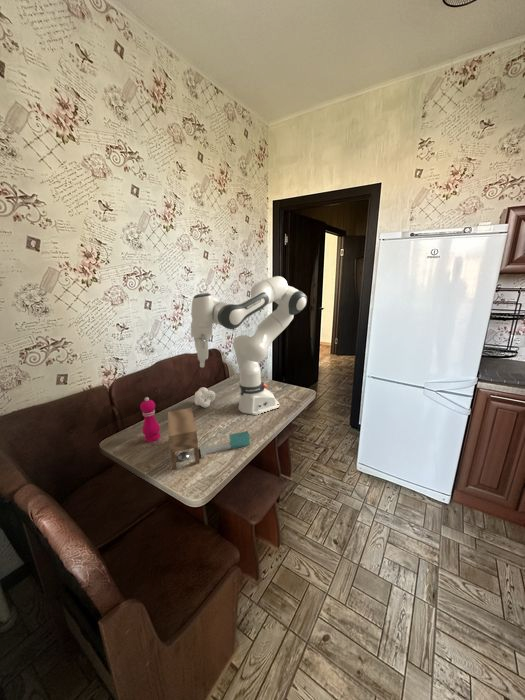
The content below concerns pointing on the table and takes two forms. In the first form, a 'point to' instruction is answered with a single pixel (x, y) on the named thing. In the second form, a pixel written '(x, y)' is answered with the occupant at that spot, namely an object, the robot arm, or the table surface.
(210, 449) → the block
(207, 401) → the white knot
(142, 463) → the table surface
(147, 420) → the pepper mill
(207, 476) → the table surface
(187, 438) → the wooden bench
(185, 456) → the silver flat dome
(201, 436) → the table surface
